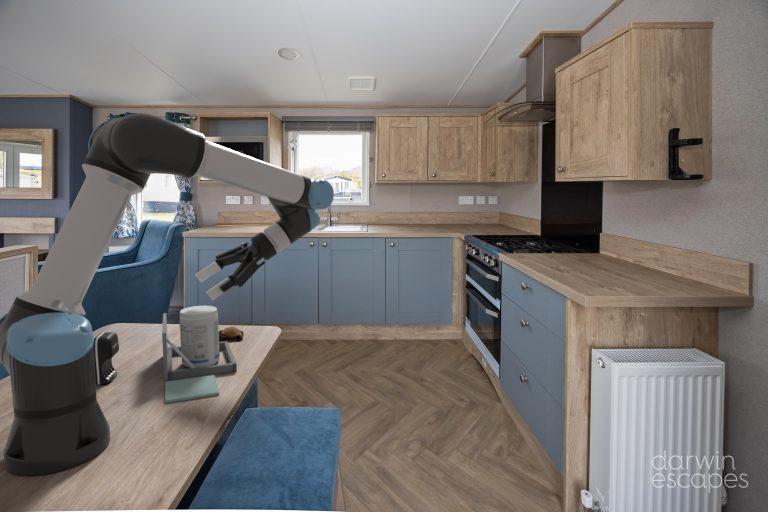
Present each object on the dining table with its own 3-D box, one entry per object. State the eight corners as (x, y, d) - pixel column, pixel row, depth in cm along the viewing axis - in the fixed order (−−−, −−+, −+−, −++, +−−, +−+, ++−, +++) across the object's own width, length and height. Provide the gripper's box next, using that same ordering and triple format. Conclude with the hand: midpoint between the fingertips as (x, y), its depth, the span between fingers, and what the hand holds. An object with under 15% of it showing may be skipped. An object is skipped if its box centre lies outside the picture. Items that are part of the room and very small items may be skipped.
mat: (165, 403, 98) (165, 400, 98) (165, 384, 108) (165, 381, 108) (218, 394, 103) (218, 392, 103) (214, 377, 113) (214, 374, 113)
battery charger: (112, 385, 107) (109, 338, 106) (94, 386, 106) (91, 339, 105) (122, 373, 114) (119, 329, 112) (105, 374, 113) (102, 330, 112)
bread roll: (216, 335, 148) (216, 324, 148) (243, 333, 151) (243, 322, 151) (215, 345, 138) (215, 333, 138) (244, 343, 141) (244, 331, 141)
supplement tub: (202, 354, 129) (201, 303, 127) (227, 360, 125) (226, 307, 123) (173, 365, 120) (171, 311, 119) (198, 371, 116) (196, 315, 114)
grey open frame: (164, 381, 110) (162, 333, 108) (165, 354, 128) (163, 313, 126) (236, 371, 117) (235, 326, 116) (227, 347, 135) (226, 308, 133)
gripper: (293, 266, 119) (222, 315, 113) (262, 241, 139) (201, 281, 132) (279, 243, 115) (205, 293, 109) (249, 221, 135) (185, 262, 128)
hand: (202, 287), depth 120 cm, fingers open, 13 cm apart
